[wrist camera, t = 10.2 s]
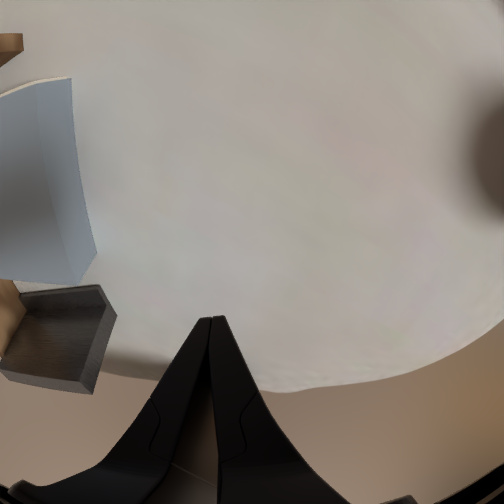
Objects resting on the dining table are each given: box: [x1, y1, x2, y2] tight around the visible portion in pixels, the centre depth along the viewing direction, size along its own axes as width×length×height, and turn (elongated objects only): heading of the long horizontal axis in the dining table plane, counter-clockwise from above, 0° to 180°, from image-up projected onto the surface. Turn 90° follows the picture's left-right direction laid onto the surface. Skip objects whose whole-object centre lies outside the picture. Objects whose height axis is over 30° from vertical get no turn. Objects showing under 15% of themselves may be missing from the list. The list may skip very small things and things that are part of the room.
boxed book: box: [0, 76, 97, 286], centre depth 15 cm, size 14×9×4 cm, turn 177°
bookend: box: [0, 285, 117, 395], centre depth 21 cm, size 4×12×9 cm, turn 97°
